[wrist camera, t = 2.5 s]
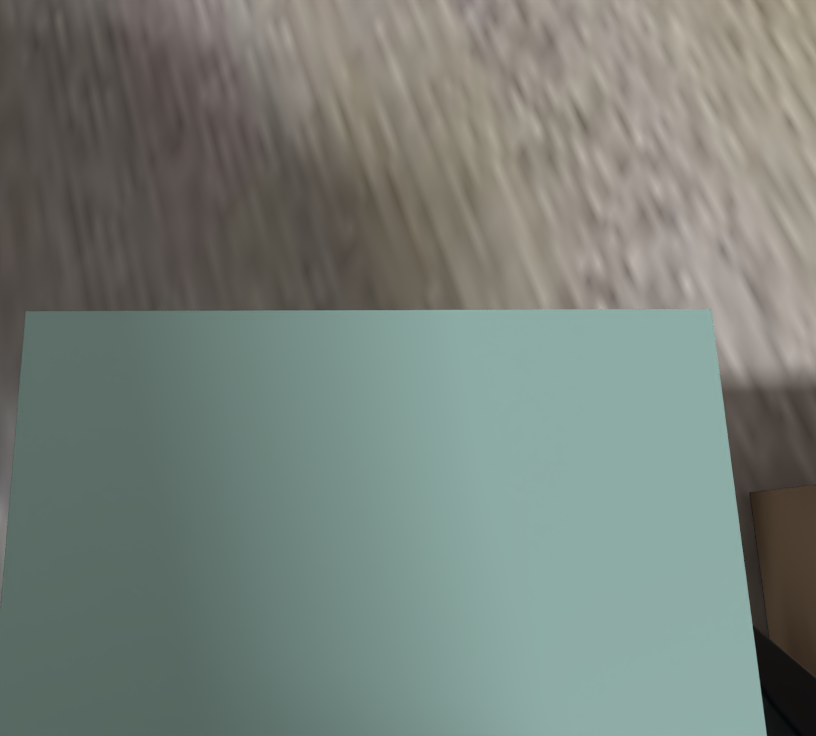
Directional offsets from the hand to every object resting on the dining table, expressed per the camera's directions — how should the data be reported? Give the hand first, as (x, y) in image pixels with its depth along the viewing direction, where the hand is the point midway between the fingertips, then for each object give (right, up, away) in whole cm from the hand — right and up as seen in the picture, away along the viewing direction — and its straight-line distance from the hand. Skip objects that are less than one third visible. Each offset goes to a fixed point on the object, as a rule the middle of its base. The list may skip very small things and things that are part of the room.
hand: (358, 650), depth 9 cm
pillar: (-1, -1, +8) cm, 8 cm away
